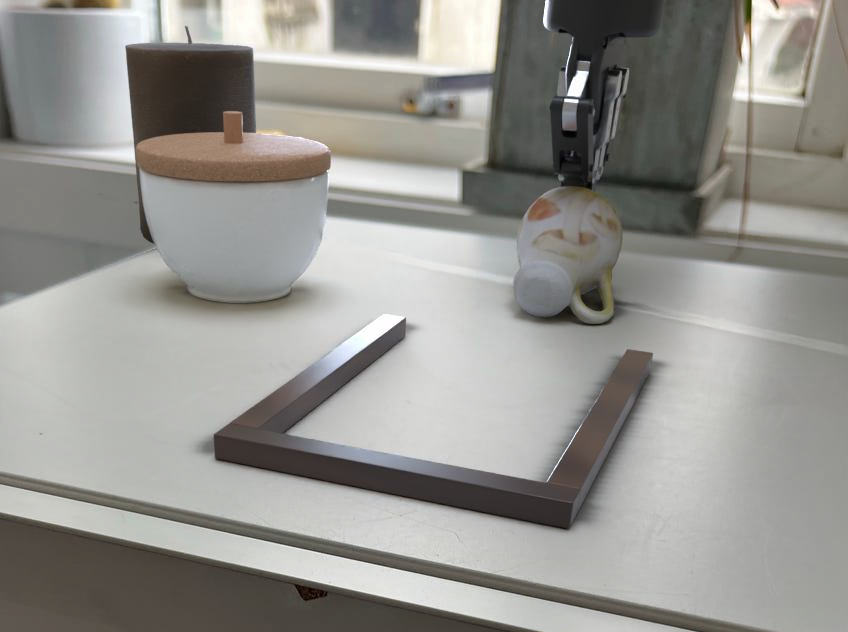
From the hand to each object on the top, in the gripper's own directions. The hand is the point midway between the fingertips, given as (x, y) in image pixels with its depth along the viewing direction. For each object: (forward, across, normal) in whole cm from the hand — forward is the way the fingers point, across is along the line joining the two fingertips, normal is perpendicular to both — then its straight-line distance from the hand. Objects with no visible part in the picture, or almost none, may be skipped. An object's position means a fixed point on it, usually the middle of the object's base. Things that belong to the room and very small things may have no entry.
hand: (571, 236), depth 73 cm
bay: (+3, -28, -1) cm, 28 cm away
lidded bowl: (+4, -13, +20) cm, 24 cm away
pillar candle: (+4, 0, +31) cm, 31 cm away
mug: (+3, -6, -1) cm, 7 cm away
